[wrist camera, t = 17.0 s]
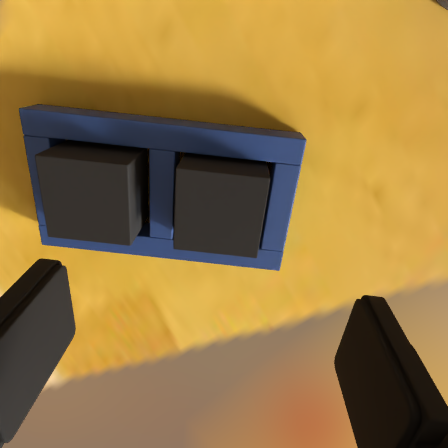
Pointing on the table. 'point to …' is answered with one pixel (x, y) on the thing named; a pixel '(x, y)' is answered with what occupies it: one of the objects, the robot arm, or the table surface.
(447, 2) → the bottle
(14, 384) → the robot arm
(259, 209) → the pad
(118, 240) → the pad
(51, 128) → the frame
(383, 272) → the table surface
